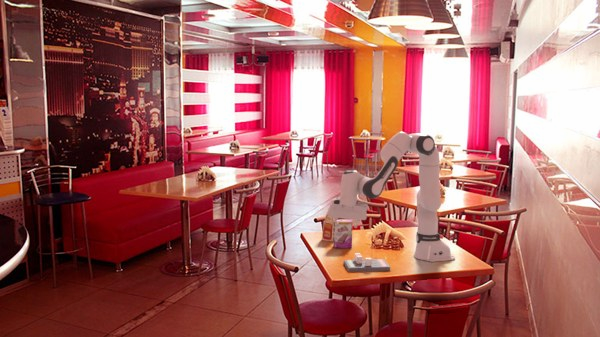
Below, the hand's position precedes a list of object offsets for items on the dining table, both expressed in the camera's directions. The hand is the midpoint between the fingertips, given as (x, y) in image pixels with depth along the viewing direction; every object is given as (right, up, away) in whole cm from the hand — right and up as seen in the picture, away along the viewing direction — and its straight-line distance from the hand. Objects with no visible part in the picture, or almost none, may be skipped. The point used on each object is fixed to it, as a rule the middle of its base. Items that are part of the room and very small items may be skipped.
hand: (346, 226), depth 279 cm
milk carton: (-4, -15, +60) cm, 62 cm away
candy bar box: (+1, -17, +42) cm, 46 cm away
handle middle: (+7, -20, +3) cm, 21 cm away
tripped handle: (+11, -20, -1) cm, 23 cm away
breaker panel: (+11, -22, +4) cm, 25 cm away
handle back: (+7, -19, +8) cm, 22 cm away
